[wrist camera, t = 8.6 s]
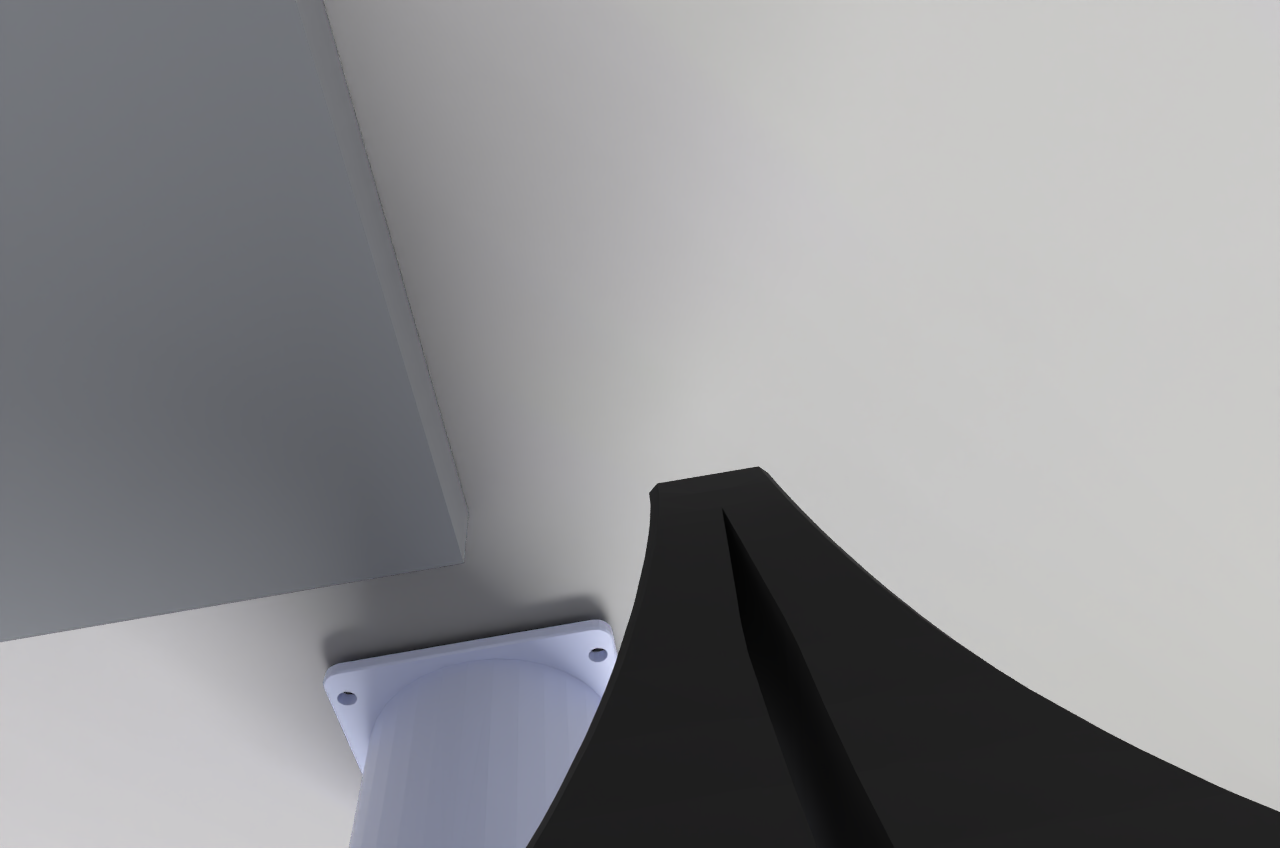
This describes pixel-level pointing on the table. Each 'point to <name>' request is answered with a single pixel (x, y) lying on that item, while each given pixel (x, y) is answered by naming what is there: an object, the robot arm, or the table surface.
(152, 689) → the table surface
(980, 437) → the table surface
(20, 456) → the dock
